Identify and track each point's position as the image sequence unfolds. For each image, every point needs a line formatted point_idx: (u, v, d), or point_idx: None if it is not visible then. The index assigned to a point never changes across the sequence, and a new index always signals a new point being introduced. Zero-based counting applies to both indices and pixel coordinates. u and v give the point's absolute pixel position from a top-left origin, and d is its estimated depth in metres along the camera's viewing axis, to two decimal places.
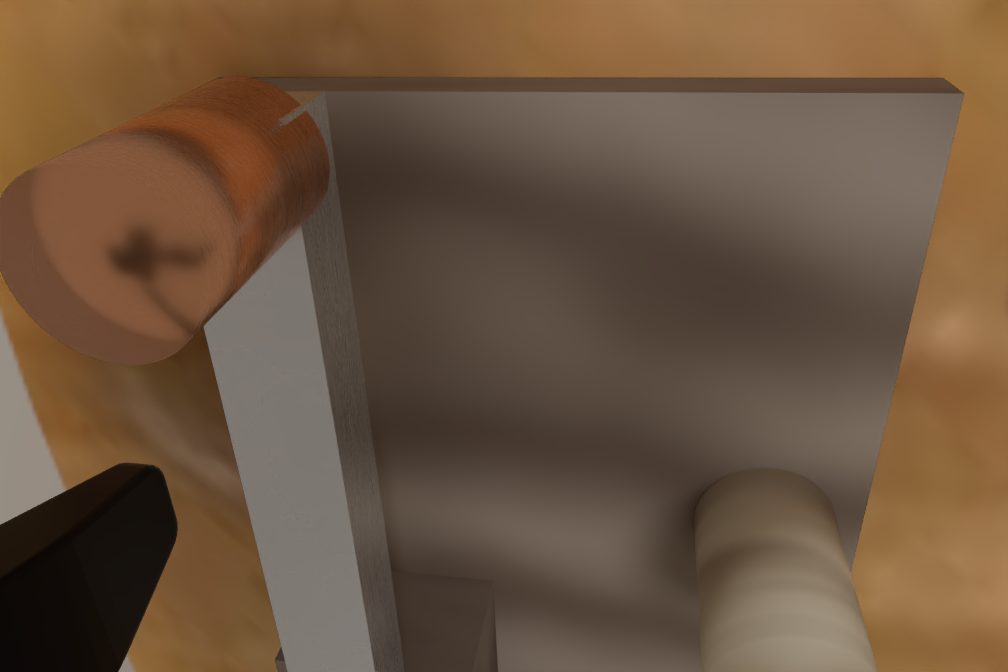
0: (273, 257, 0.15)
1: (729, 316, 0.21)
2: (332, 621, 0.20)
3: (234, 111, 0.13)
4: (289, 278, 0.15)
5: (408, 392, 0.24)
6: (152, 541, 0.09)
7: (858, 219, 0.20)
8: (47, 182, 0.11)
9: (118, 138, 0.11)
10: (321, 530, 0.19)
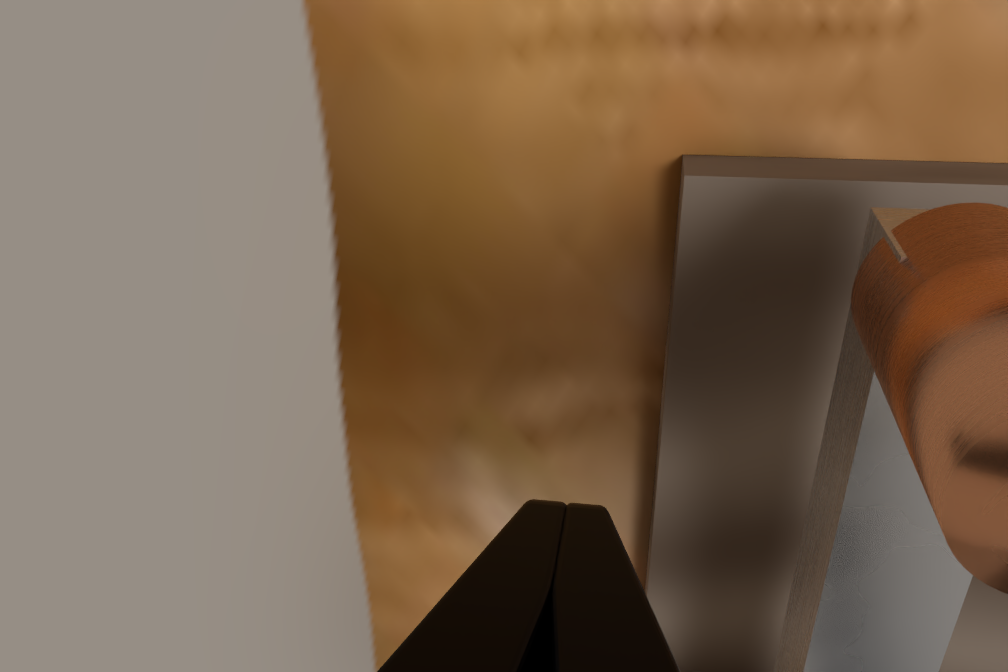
0: None
1: None
2: None
3: None
4: None
5: None
6: None
7: None
8: None
9: None
10: None
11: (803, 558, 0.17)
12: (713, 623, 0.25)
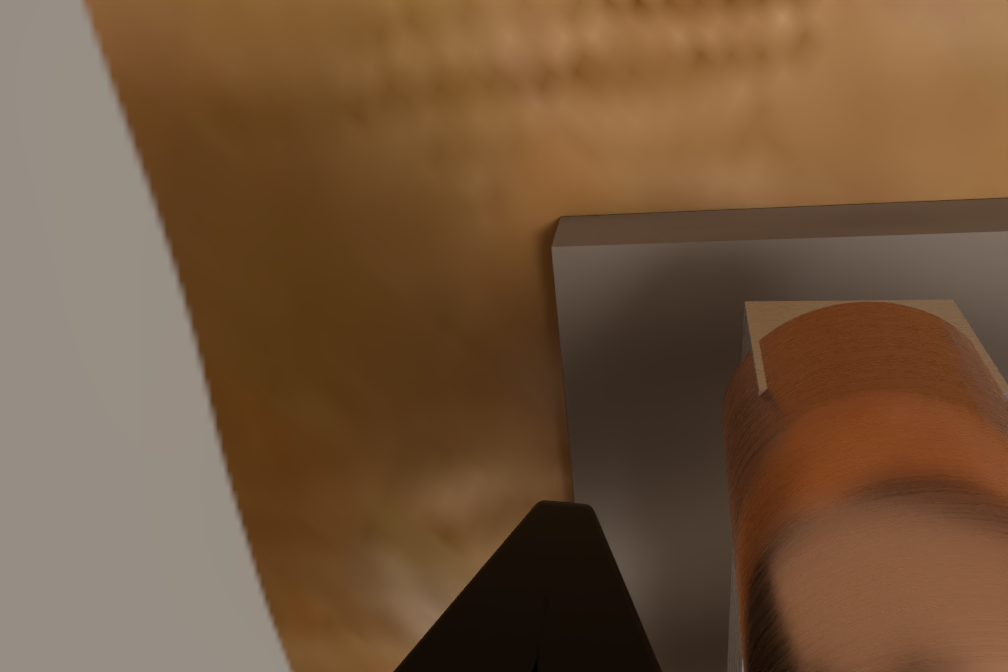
0: None
1: None
2: None
3: (986, 404, 0.07)
4: None
5: None
6: None
7: None
8: None
9: (989, 558, 0.06)
10: None
11: None
12: None
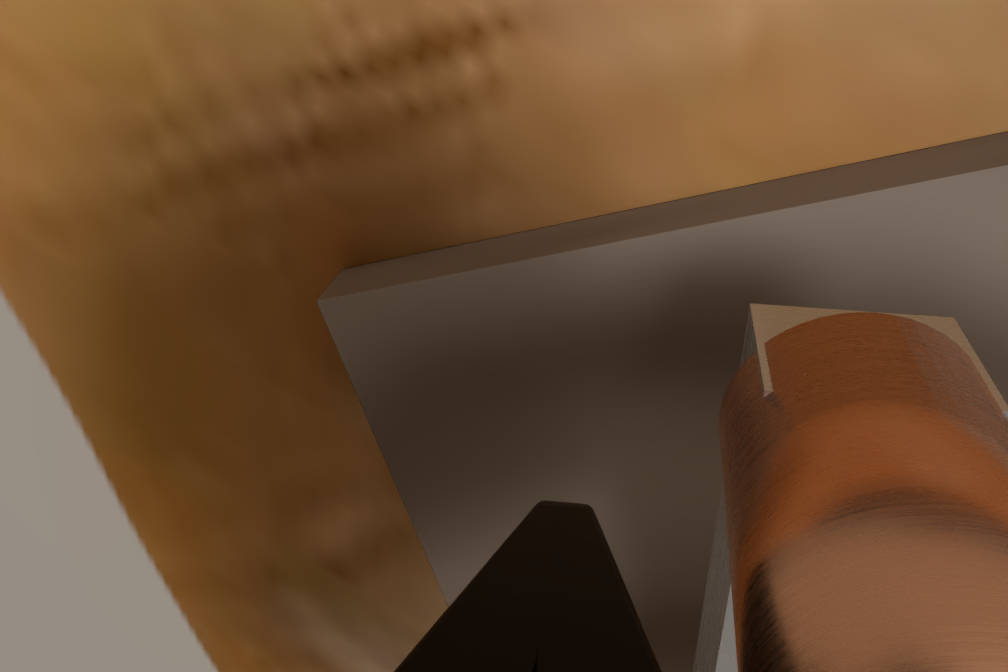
0: None
1: None
2: None
3: (989, 421, 0.08)
4: None
5: (639, 592, 0.19)
6: None
7: None
8: None
9: (997, 572, 0.06)
10: None
11: None
12: None
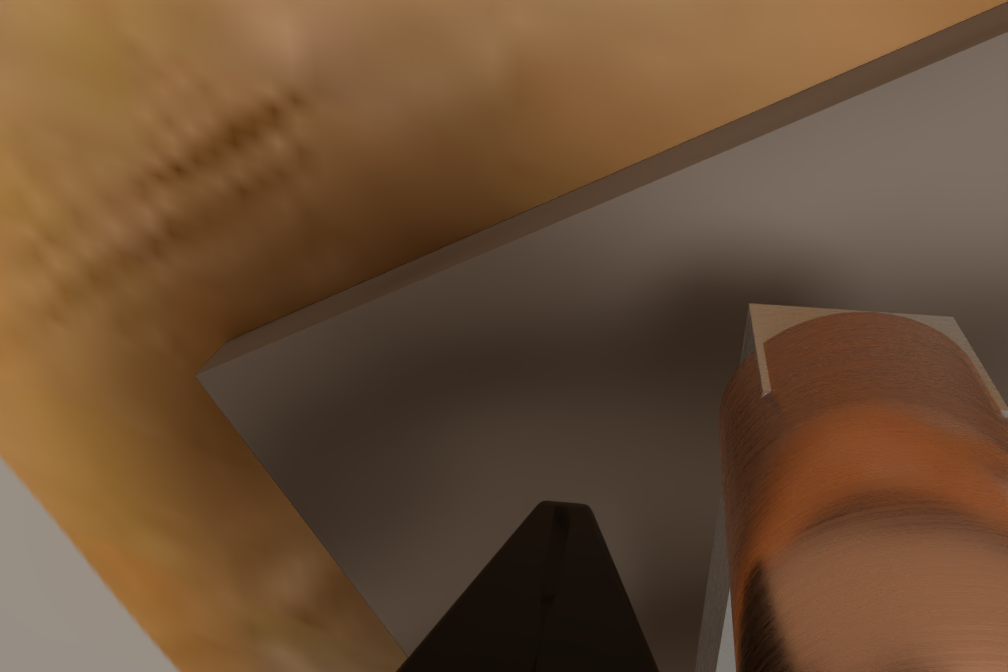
0: None
1: None
2: None
3: (987, 421, 0.08)
4: None
5: None
6: None
7: None
8: None
9: (993, 571, 0.06)
10: None
11: None
12: None
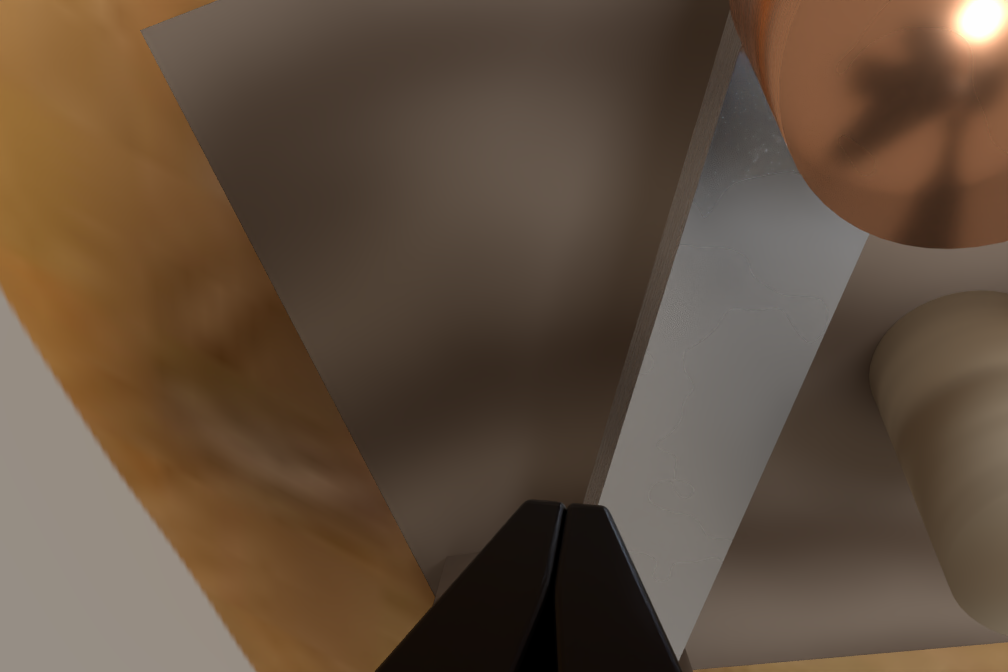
0: None
1: None
2: None
3: None
4: None
5: (482, 323, 0.20)
6: None
7: None
8: None
9: None
10: (701, 506, 0.14)
11: (632, 346, 0.14)
12: (452, 497, 0.23)
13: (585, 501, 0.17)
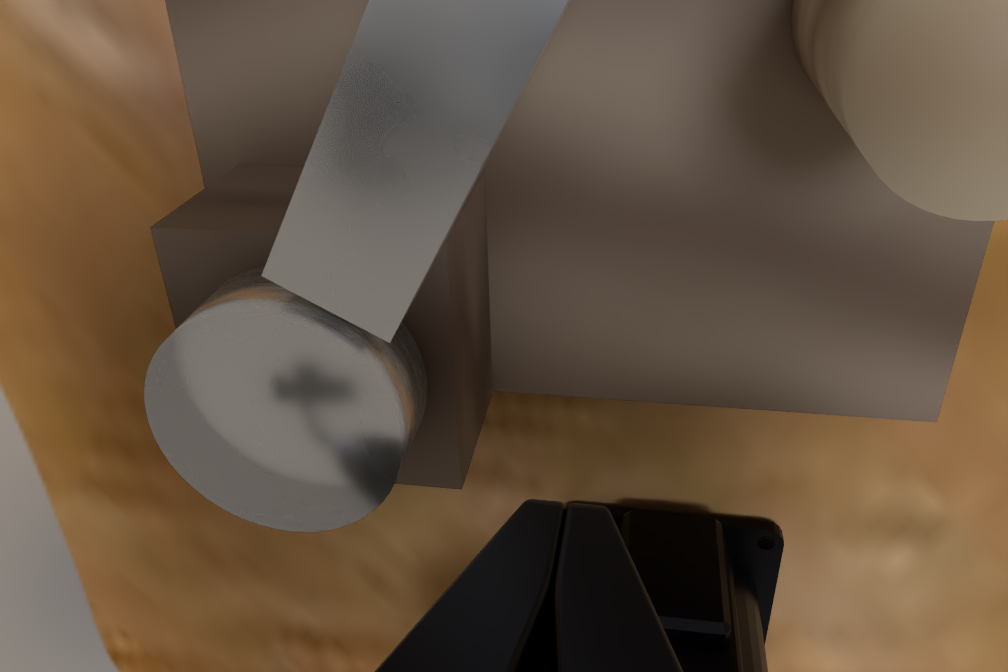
0: None
1: None
2: (462, 64, 0.12)
3: None
4: None
5: None
6: None
7: None
8: None
9: None
10: None
11: None
12: (263, 71, 0.19)
13: None
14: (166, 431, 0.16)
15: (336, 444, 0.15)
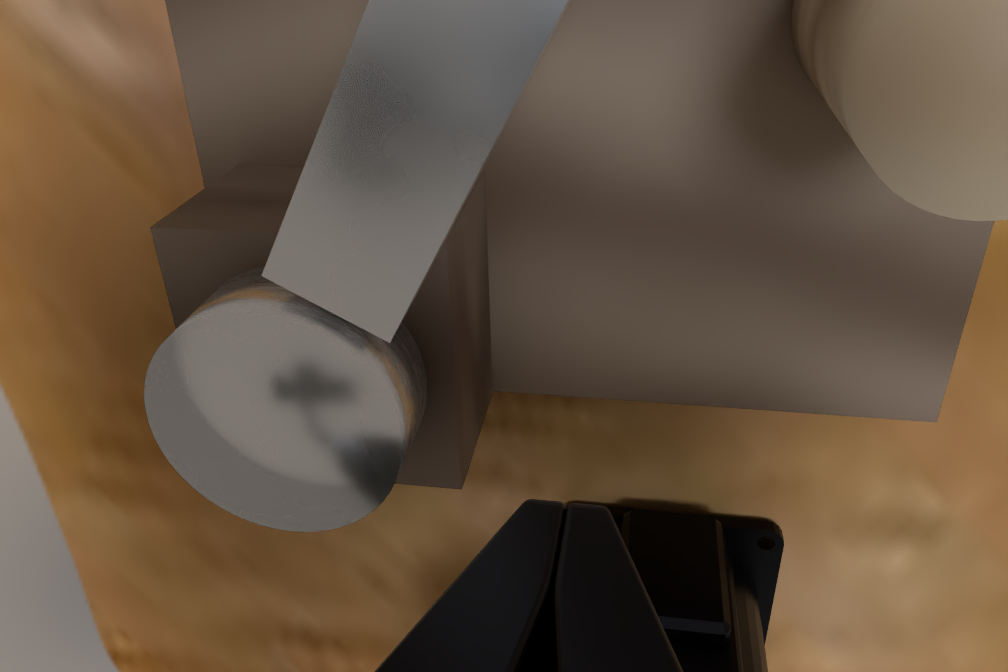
0: None
1: None
2: (462, 64, 0.12)
3: None
4: None
5: None
6: None
7: None
8: None
9: None
10: None
11: None
12: (263, 71, 0.19)
13: None
14: (166, 431, 0.16)
15: (336, 444, 0.15)
